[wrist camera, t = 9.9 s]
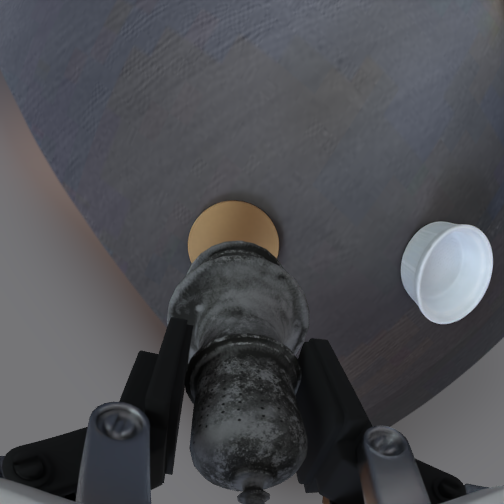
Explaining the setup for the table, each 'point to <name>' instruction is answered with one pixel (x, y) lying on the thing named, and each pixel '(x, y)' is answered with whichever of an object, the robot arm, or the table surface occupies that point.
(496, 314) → the table surface
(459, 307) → the ramekin
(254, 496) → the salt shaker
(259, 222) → the coaster
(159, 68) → the table surface
